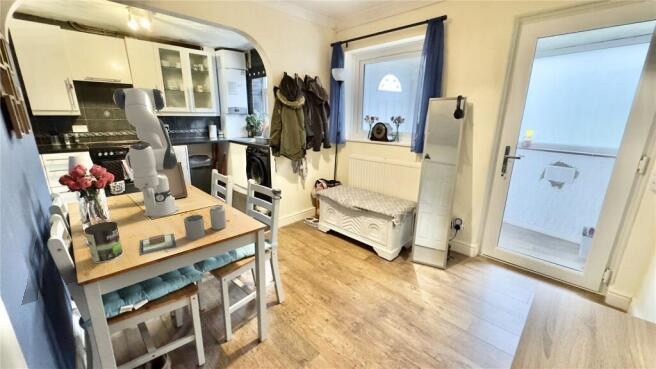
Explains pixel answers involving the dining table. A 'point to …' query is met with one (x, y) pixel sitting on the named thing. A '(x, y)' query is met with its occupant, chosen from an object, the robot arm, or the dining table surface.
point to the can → (217, 217)
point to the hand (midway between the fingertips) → (152, 211)
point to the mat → (159, 248)
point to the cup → (194, 227)
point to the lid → (157, 242)
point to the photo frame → (175, 180)
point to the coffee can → (104, 241)
